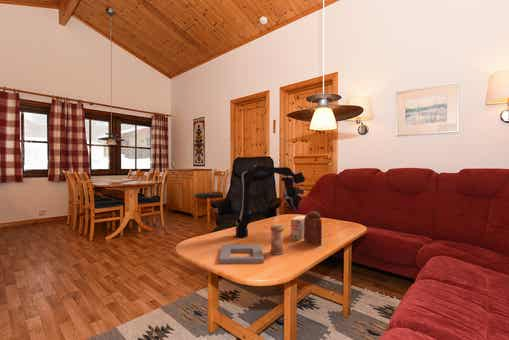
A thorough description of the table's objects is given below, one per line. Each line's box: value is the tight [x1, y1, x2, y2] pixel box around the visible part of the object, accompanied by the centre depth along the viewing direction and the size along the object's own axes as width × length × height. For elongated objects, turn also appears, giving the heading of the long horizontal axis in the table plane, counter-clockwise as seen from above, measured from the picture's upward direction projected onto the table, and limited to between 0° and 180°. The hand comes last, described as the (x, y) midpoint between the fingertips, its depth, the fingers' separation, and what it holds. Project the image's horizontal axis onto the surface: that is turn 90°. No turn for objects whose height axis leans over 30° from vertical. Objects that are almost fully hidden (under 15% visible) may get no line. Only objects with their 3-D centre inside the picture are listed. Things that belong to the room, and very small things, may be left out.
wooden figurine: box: [303, 210, 323, 246], centre depth 144 cm, size 12×6×18 cm, turn 46°
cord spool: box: [269, 224, 285, 256], centre depth 127 cm, size 7×7×13 cm
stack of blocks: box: [290, 214, 306, 241], centre depth 158 cm, size 21×6×12 cm, turn 151°
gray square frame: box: [218, 244, 265, 264], centre depth 123 cm, size 19×20×2 cm
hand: (294, 209), depth 162 cm, fingers open, 9 cm apart
